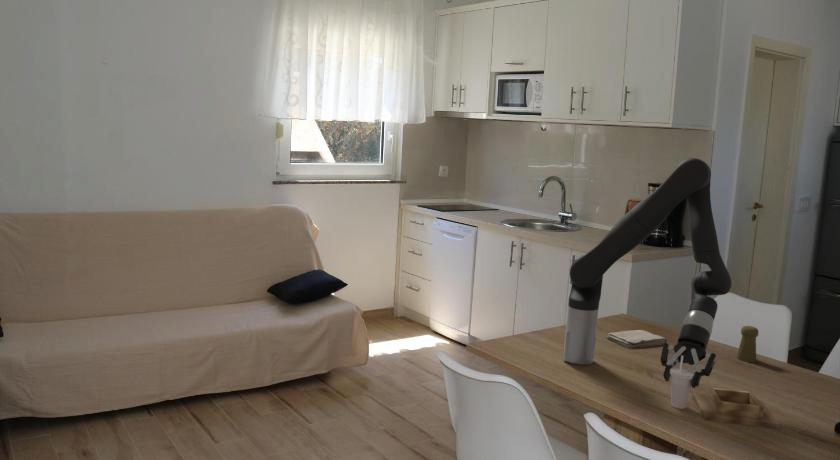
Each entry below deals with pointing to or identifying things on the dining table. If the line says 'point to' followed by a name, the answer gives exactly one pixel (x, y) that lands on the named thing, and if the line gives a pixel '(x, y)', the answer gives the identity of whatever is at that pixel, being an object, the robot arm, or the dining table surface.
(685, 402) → the smoothie
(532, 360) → the dining table surface
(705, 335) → the robot arm
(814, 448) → the dining table surface
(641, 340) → the washcloth
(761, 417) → the open wooden box
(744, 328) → the cork
